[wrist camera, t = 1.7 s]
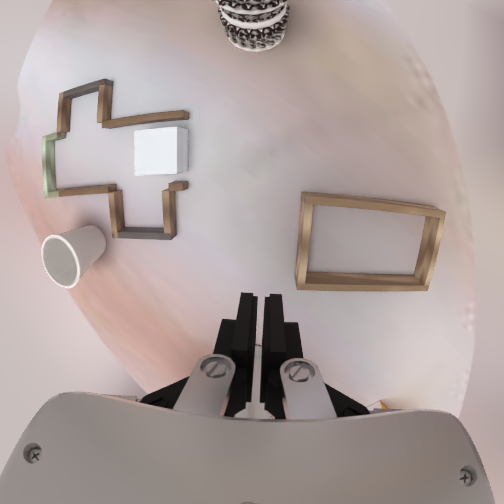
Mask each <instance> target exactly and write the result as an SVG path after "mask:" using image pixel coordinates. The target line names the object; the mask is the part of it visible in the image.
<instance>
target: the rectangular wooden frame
mask: <svg viewBox="0 0 504 504" xmlns="http://www.w3.org/2000/svg"><path fill="white" fill-rule="evenodd" d="M313 205H326V206H338V207H350V208H361V209H371V210H381V211H390V212H399V213H407V214H415V215H423V216H426V220H425V226H424V231H423V237H422V242H421V246H420V251H419V256H418V260H417V264H416V268H415V272H414V275H391V274H353V273H322V272H306V271H307V262H308V253H309V244H310V234H311V223H312V211H313ZM445 214H446V212H444V211H442V210H440V209H437V208H435V207H433V206H427V205H420V204H413V203H406V202H399V201H391V200H383V199H375V198H366V197H357V196H347V195H336V194H324V193H311V192H302V196H301V210H300V224H299V236H298V247H297V258H296V269H295V282H296V287H297V290H319V291H428V287H429V284H430V281H431V277H432V273H433V270H434V266H435V262H436V258H437V254H438V249H439V245H440V240H441V235H442V230H443V225H444V220H445Z"/></svg>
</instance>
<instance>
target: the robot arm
mask: <svg viewBox="0 0 504 504" xmlns="http://www.w3.org/2000/svg"><path fill="white" fill-rule="evenodd" d="M257 301H258V296H253V293H241V297H240V302H239V308H238V313H237V319H236V320H231V319H222V322H221V325H220V329H219V333H218V337H217V341H216V345H215V349H214V353H213V354H212V355H207V356H204V357H203V358H201V359H200V360H199V361H198V362H197V364H196V366H195V368H194V370H193V371H192V373H191V375H190V376H189V377H186V378H184V379H182V380H180V381H178V382H176V383H173V384H171V385H169V386H167V387H164V388H162V389H160V390H157V391H155V392H153V393H150V394H148V395H146V396H145V397H143V398H142V399H138V398H137V396H121V395H105V394H97V393H89V392H65V393H60V394H57V395H55V396H53V397H52V398H50V399H49V400H48V401H47V402H46V403H45V404H44V405H43V406H42V407H41V408H40V410H39V411H38V412H37V413H36V415H35V416H34V417H33V419H32V420H31V422H30V423H29V425H28V426H27V428H26V429H25V431H24V432H23V434H22V436H21V438H20V439H19V441H18V443H17V444H16V446H15V448H14V450H13V452H12V454H11V456H10V458H9V460H8V461H7V464H6V466H5V467H4V469H3V472H2V474H1V476H0V504H495V501H494V497H493V493H492V490H491V487H490V484H489V481H488V478H487V475H486V472H485V469H484V466H483V464H482V461H481V458H480V456H479V454H478V452H477V449H476V447H475V445H474V443H473V441H472V439H471V437H470V435H469V434H468V432H467V431H466V429H465V428H464V426H463V425H462V423H461V422H460V421H459V420H458V419H457V418H456V417H455V416H454V415H452V414H450V413H448V412H444V411H440V410H431V409H411V410H400V409H379V408H374V409H373V411H370V410H368V409H367V408H366V407H365V406H363V405H362V404H360V403H358V402H356V401H355V400H353V399H351V398H349V397H348V396H346V395H344V394H342V393H341V392H339V391H337V390H336V389H334V388H332V387H330V386H329V385H327V384H325V383H324V381H323V379H322V376H321V374H320V371H319V369H318V367H317V366H316V365H315V364H314V363H313V362H311V361H309V360H307V359H303V352H302V346H301V339H300V332H299V326H298V323H297V322H284V314H283V303H282V294H270V297H265V305H264V321H263V336H262V347H260V346H257V345H255V342H256V322H257ZM271 414H272V415H273V419H271Z"/></svg>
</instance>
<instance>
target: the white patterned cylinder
mask: <svg viewBox="0 0 504 504" xmlns="http://www.w3.org/2000/svg"><path fill="white" fill-rule="evenodd" d="M214 1H215V2H216V3H217V4H218V5H219V7H220V8H219V10H218V12H219V13H220V14H221V15H220V19H221V21H222V24H223V26H224V30H225V32H226V35H227V36H228V38H229V40H230V41H231V42H232V43H233V44H234V45H235V46H236V47H238V48H240V49H243V50H245V51H251V52H261V51H265V50H270V49H271V48H273V47H275V46H277V45H278V44H279V43H280V42H281V40H282V39H283V38H284V36H285V33H286V30H285V29H286V28H287V20H288V10H289V6H288V5H287V0H214Z"/></svg>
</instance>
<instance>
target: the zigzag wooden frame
mask: <svg viewBox="0 0 504 504" xmlns="http://www.w3.org/2000/svg"><path fill="white" fill-rule="evenodd" d="M112 90H113V81H110V80H108V79H102V80H99V81H95V82H92V83H88V84H85V85H82V86H79V87H76V88H73V89H70V90H67V91H65V92H62V93H59V102H58V116H57V133H53V134H50V135H47V136H43V137H42V167H43V185H44V197H45V198H51V197H61V196H73V195H86V194H101V193H108V195H109V208H110V219H111V228H112V237H113V238H129V239H157V240H172V239H173V238H174V237H175V236H176V235H177V234H176V213H175V191H183V190H185V189H188V181H184V182H172V183H169V189H166V190H163V191H162V201H163V221H164V228H132V227H125V226H124V215H123V202H122V190H116V184H111V185H98V186H86V187H76V188H66V189H57V190H56V179H55V141H56V140H60V139H63V138H66V132H69V131H70V113H71V100H72V99H73V98H76V97H79V96H82V95H85V94H89V93H92V92H96V91H99V96H98V110H97V123H102V128H110V129H111V128H117V127H123V126H130V125H137V124H145V123H153V122H163V121H174V120H188V119H189V113H188V112H186V111H184V110H180V111H169V112H159V113H151V114H143V115H136V116H130V117H124V118H118V119H112V120H111V104H112Z"/></svg>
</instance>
